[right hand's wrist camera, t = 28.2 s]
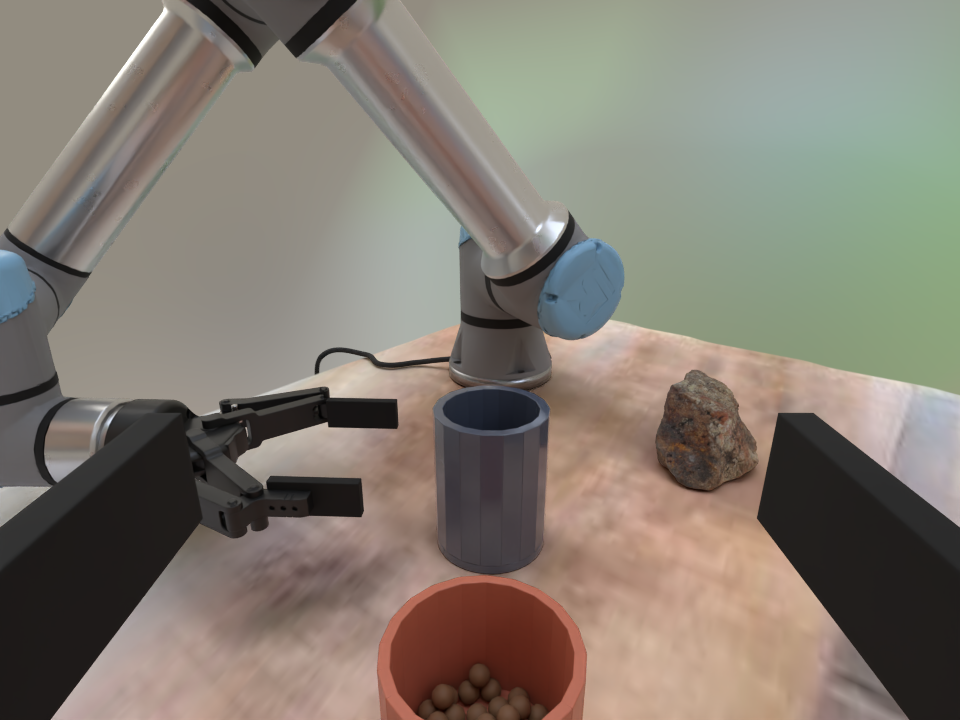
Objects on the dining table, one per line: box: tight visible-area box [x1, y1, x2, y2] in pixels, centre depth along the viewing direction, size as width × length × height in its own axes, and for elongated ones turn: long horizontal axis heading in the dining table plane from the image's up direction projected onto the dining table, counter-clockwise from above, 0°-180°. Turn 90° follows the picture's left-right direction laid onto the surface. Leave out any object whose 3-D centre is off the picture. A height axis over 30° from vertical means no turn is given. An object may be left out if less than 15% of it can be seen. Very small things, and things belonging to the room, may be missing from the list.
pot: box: [377, 575, 587, 720], centre depth 29 cm, size 10×10×9 cm
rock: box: [656, 370, 758, 490], centre depth 59 cm, size 14×9×10 cm
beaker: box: [433, 386, 550, 574], centre depth 46 cm, size 9×9×12 cm
